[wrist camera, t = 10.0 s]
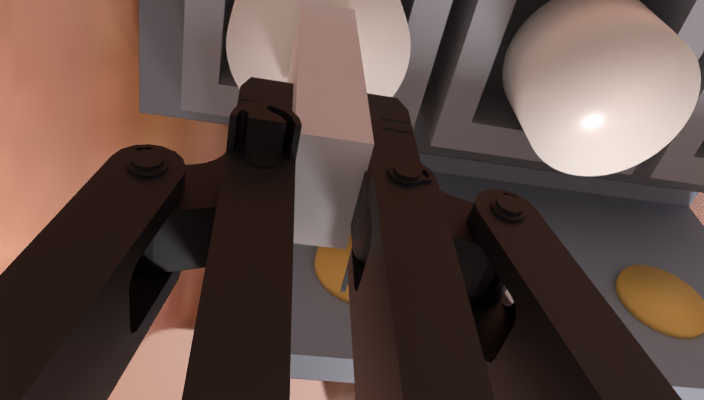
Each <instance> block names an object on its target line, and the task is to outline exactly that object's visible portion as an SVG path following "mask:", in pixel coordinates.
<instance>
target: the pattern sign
mask: <svg viewBox="0 0 704 400" xmlns="http://www.w3.org/2000/svg"><path fill="white" fill-rule="evenodd" d="M418 153H419V157H420V161H421V164H423V165H425V166H426V167H427V168H429V169H430V170H431V171H432V172H433V173H434V175H435V177H436V178H437V181H438V184H439V188H440V190H442V191H444V192H445V193H448V194H450V195H452V196H455V197H458V198H461V199H464V200H466V201H469V202H472V203H474V201H475V198H476V196H477V195H478V194H479V193H481V192H482V191H484V190H489V189H498V190H506V191H509V192H512V193H515V194H517V195H519V196H520V197H522V198H524V199H526V200H527V201H529V202H530V203H531V204H532V205H533V206H534V207H535V208H536V209H537V211H538V212H539V213H540V215H541V216H542V217H543V219H544V220H545V221H546V222H547V224H548V225H549V226H550V228H551V229H552V230H553V232H554V233H555V234H556V235H557V237H558V238H559V239H560V241H561V242H562V243H563V245H564V246H565V247H566V249H567V250H568V251H569V252H570V254H571V255H572V256H573V258H574V259H575V260H576V262H577V263H578V264H579V266H580V267H581V268H582V269H583V271H584V272H585V273H586V275H587V276H588V277H589V279H590V280H591V281H592V283H593V284H594V285H595V286H596V288H597V289H598V290H599V292H600V293H601V294H602V296H603V297H604V298H605V300H606V301H607V302H608V303H609V305H610V306H611V307H612V309H613V310H614V311H615V313H616V314H617V315H618V317H619V318H620V319H621V320H622V322H623V323H624V324H625V326H626V327H627V328H628V330H629V331H630V332H631V334H632V335H633V336H634V337H635V339H636V340H637V341H638V343H639V344H640V345H641V347H642V348H643V349H644V351H645V352H646V353H647V354H648V356H649V357H650V358H651V360H652V361H653V362H654V364H655V365H656V366H657V368H658V369H659V370H660V371H661V373H662V374H663V375H664V377H665V378H666V379H667V381H668V382H669V383H670V385H671V386H672V387H673V388H674V390H675V391H676V392H677V394H678V395H679V396H680V398H681V399H682V400H704V226H703V225H702V224H701V222H700V221H699V220H698V218H697V217H696V216H695V214H694V213H693V212H692V210H691V209H690V208H689V206H690V204H691V203H692V201H693V200H694V198H695V197H696V195H697V194H698V192H696V191H689V190H682V189H675V188H668V187H661V186H654V185H647V184H640V183H633V182H626V181H619V180H612V179H605V178H598V177H591V176H576V175H571V174H566V173H563V172H556V171H549V170H542V169H535V168H528V167H521V166H514V165H507V164H500V163H492V162H485V161H478V160H471V159H464V158H457V157H450V156H443V155H436V154H429V153H422V152H418ZM351 249H352V238H351V233H350V237H349V241H348V245H347V248H346V249H340V248H331V247H322V246H313V245H304V244H295V243H293V282H292V321H291V360H290V378H294V379H308V380H319V381H332V382H345V383H354V367H353V351H352V335H351V319H350V303H349V287H348V285H347V288H346V292H340V290H341V286H342V282H343V278H344V275H345V271H346V267H347V264H348V260H349V256H350V253H351ZM505 294H506V295H507V297H508V299H509V300H510V301H511V303H512V304H513V303H514V301H513V299H512V297H511V295H510V293H509V292H508V290H506V292H505Z"/></svg>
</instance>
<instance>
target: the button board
mask: <svg viewBox="0 0 704 400" xmlns="http://www.w3.org/2000/svg"><path fill="white" fill-rule="evenodd" d="M234 1H235V0H139V99H140V112H141V113H148V114H155V115H162V116H169V117H176V118H183V119H190V120H197V121H204V122H212V123H219V124H226V125H229V119H230V114H231V112H232V111H233V109H234V108H235V107H237V102H238V96H239V91H240V89H239V87H238V85H237V84H236V82H235V80H234V78H233V75H232V73H231V70H230V67H229V63H228V59H227V51H226V36H227V30H228V25H229V21H230V17H231V13H232V9H233V5H234ZM549 1H551V0H401V3H402V7H403V10H404V13H405V16H406V20H407V23H408V28H409V32H410V42H411V49H410V59H409V64H408V68H407V71H406V74H405V77H404V79H403V81H402V83H401V85H400V87H399V88H398V90H397V91H396V93H395V94H394V96H393V97H394V98H398V99H399V100H400V101H401V103H402V104H403V105H404V106H405V107H406V108H407V109H408V111H409V115H410V119H411V125H412V128H413V132H414V133H413V135H414V136H415V140H416V144H417V148H418V152H422V153H429V154H436V155H443V156H450V157H457V158H464V159H471V160H478V161H485V162H492V163H500V164H507V165H514V166H521V167H528V168H535V169H542V170H549V171H556V172H561V171H558V170H556V169H554V168H552V167H550V166H549V165H548V164H546V163H545V162H543V161H542V159H541V158H540V157H539V156H538V155H537V154H536V153H535V151H534V150H533V148H532V146H531V144H530V142H529V140H528V138H527V136H526V134H525V132H524V130H523V128H522V126H521V124H520V122H519V120H518V118H517V116H516V114H515V112H514V110H513V108H512V106H511V105H510V103H509V100H508V98H507V96H506V94H505V90H504V87H503V79H502V71H503V63H504V58H505V55H506V52H507V49H508V47H509V45H510V43H511V40H512V39H513V37H514V35H515V34H516V32H517V31H518V29H519V28H520V27H521V26H522V24H523V23H524V22H525V21H526V20H527V19H528V18H529V17H530V16H531V15H532V14H533V13H534V12H535V11H536V10H538V9H539V8H540V7H542V6H543V5H545V4H546V3H547V2H549ZM639 1H640V2H642V3H643V4H644V5H645V6H646V7H647V8H648V9H649V10H651V11H652V12H653V13H654V14H655V15H656V16H657V17H658V18H660V19H661V20H662V21H663V22H664V23H665V24H666V25H667V26H669V27H670V28H671V29H672V30H673V31H674V32H675V33H676V34H678V35H679V36H680V37H681V38H682V39H683V40H684V41H685V42H686V43H687V44H688V45H689V46H690V47H691V49H692V50H693V52H694V53H695V55H696V58H697V60H698V63H699V67H700V73H701V85H700V92H699V96H698V100H697V103H696V105H695V108H694V110H693V112H692V114H691V116H690V118H689V120H688V121H687V122H686V124H685V125H684V127H683V128H682V130H681V131H680V132H679V133H678V134H677V135H676V137H675V138H674V139H673V140H672V141H671V142H670V143H669V144H667V145H666V146H665V147H664V148H663V149H661V150H660V151H659V152H658V153H656V154H655V155H653V156H652V157H650V158H649V159H647V160H645V161H643V162H642V163H640V164H638V165H636V166H633V167H631V168H629V169H626V170H623V171H620V172H617V173H613V174H608V175H602V176H591V177H598V178H605V179H612V180H619V181H626V182H633V183H640V184H647V185H654V186H661V187H668V188H675V189H682V190H689V191H696V192H703V193H704V0H639Z"/></svg>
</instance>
